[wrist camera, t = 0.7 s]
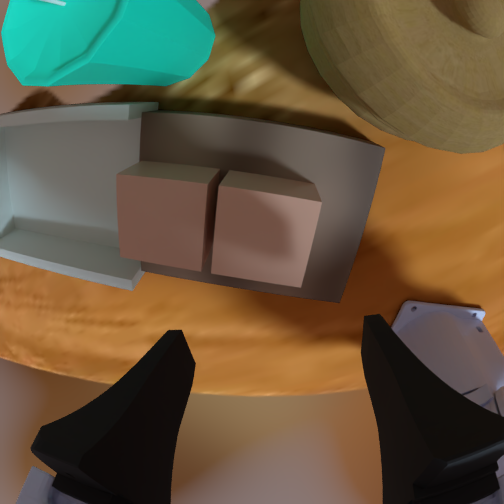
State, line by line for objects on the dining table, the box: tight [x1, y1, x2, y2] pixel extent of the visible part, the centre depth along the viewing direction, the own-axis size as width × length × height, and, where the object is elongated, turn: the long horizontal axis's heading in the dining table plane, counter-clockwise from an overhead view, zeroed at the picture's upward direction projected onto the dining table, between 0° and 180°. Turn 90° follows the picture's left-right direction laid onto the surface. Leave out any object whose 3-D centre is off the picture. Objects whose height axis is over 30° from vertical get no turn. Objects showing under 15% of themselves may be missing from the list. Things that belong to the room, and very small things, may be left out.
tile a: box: [211, 170, 322, 288], centre depth 15 cm, size 4×4×3 cm
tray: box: [0, 102, 159, 291], centre depth 17 cm, size 15×11×4 cm
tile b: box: [116, 161, 220, 272], centre depth 15 cm, size 4×4×3 cm
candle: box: [1, 0, 215, 86], centre depth 9 cm, size 6×6×12 cm
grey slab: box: [139, 110, 385, 303], centre depth 18 cm, size 13×10×2 cm
